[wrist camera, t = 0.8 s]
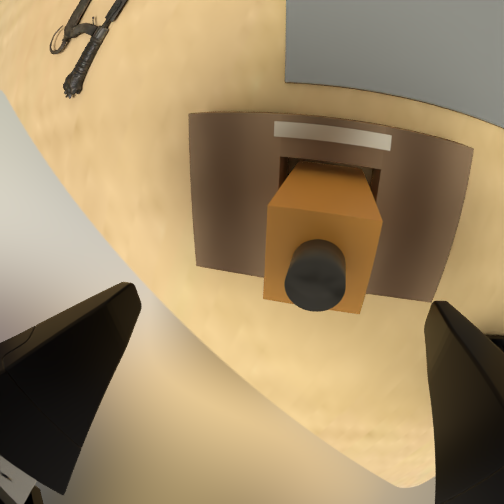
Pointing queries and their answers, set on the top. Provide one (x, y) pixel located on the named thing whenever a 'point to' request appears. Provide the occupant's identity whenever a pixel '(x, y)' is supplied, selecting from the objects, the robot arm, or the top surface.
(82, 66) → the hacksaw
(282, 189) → the plug
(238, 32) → the top surface
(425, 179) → the socket block
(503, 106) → the mat
